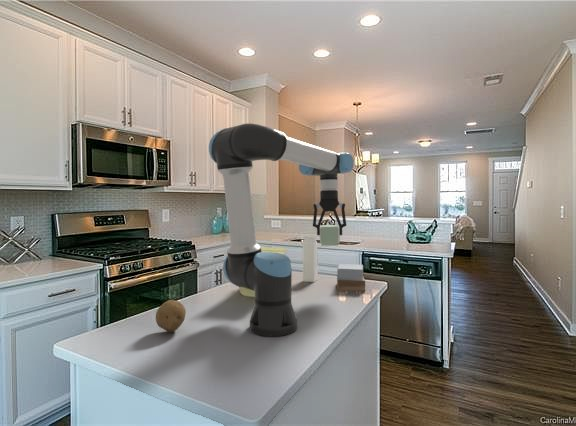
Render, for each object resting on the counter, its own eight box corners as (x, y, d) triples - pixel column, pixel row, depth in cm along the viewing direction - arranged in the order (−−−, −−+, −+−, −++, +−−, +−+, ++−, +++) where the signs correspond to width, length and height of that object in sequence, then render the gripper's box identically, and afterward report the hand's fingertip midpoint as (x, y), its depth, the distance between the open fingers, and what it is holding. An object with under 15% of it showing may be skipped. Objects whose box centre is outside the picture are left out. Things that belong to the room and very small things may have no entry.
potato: (184, 337, 102) (183, 304, 102) (152, 339, 101) (152, 306, 100) (187, 326, 111) (186, 295, 111) (158, 328, 110) (157, 297, 109)
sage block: (338, 245, 145) (337, 226, 144) (321, 245, 146) (321, 226, 145) (337, 243, 152) (337, 225, 151) (321, 243, 153) (321, 225, 152)
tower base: (365, 292, 151) (365, 280, 151) (337, 291, 152) (337, 280, 152) (362, 285, 163) (362, 274, 163) (337, 284, 164) (337, 274, 164)
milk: (314, 282, 168) (314, 237, 167) (302, 281, 170) (302, 237, 169) (317, 279, 174) (317, 236, 172) (306, 278, 176) (305, 235, 175)
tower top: (362, 280, 151) (362, 269, 151) (337, 279, 153) (337, 268, 153) (363, 275, 161) (362, 264, 161) (339, 274, 164) (339, 264, 164)
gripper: (351, 189, 150) (352, 241, 151) (306, 190, 152) (307, 241, 154) (353, 189, 143) (353, 244, 144) (305, 190, 145) (306, 244, 146)
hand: (329, 242), depth 149 cm, fingers closed on sage block, 7 cm apart
